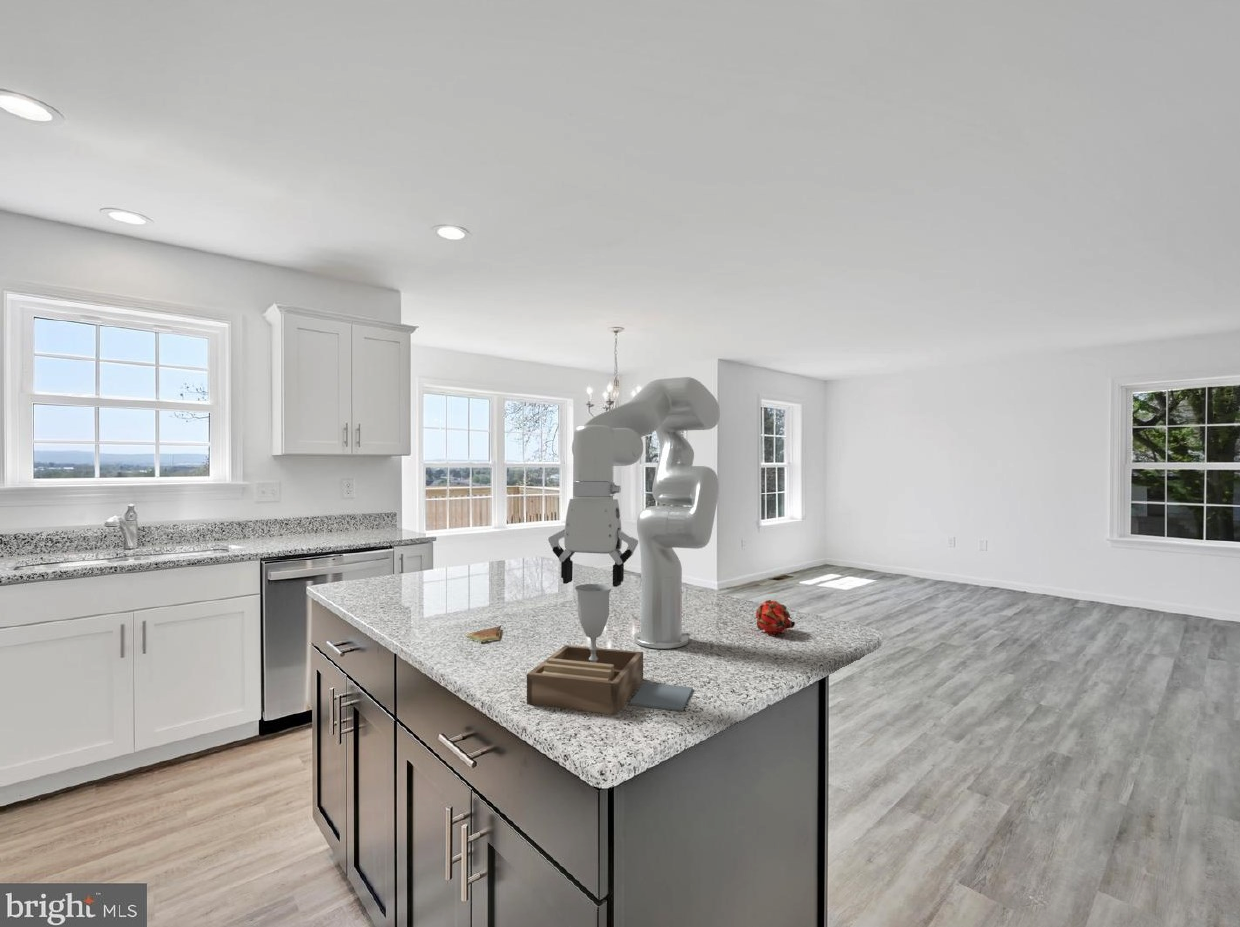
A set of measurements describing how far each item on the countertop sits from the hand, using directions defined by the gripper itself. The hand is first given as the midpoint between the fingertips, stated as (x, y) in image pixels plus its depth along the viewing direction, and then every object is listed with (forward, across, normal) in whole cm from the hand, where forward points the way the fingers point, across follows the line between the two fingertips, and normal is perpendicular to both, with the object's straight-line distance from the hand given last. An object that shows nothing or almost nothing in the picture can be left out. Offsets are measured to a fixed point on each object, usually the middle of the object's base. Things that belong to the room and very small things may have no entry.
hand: (592, 584), depth 107 cm
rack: (+19, 0, +2) cm, 19 cm away
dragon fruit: (+18, -31, -47) cm, 59 cm away
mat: (+19, -14, +1) cm, 23 cm away
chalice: (+19, 0, -1) cm, 19 cm away
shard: (+19, +36, -24) cm, 47 cm away
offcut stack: (+19, 0, +7) cm, 20 cm away
